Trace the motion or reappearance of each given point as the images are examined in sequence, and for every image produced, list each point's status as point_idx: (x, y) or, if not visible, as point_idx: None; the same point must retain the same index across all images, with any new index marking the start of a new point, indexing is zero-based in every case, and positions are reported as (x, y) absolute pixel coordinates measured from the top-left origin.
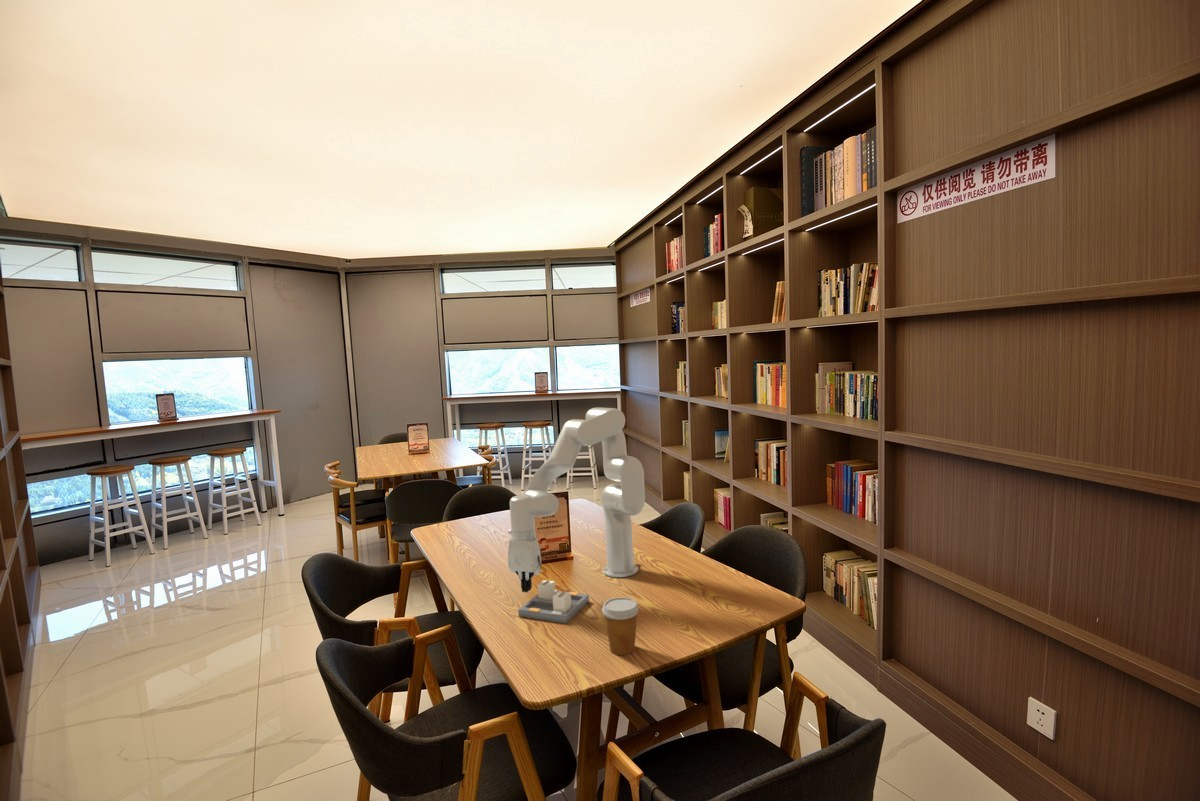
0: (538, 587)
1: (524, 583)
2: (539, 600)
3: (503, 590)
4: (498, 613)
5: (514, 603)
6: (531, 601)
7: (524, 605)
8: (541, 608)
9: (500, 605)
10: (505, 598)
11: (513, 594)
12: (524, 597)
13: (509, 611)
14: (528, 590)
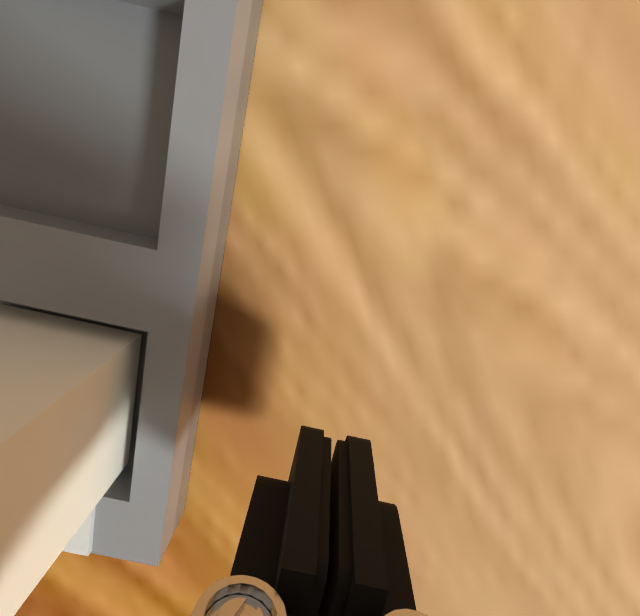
0: (17, 411)
1: (314, 520)
2: (68, 257)
3: (636, 608)
4: (572, 33)
5: (440, 330)
6: (162, 216)
7: (210, 64)
8: (18, 125)
9: (595, 270)
10: (575, 443)
11: (509, 531)
12: None
13: (441, 108)
14: (289, 476)
